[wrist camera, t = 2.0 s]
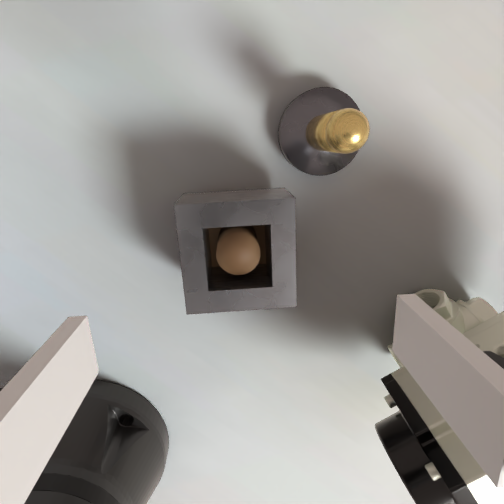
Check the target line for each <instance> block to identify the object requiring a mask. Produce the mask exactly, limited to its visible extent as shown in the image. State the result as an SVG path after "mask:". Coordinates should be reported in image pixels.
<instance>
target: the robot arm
mask: <svg viewBox="0 0 504 504" xmlns="http://www.w3.org/2000/svg"><path fill="white" fill-rule="evenodd" d="M392 351H393V352H394V353H395V355H396V356H397V357H398V358H399V360H400V361H401V362H402V364H403V365H404V366H405V368H406V369H407V370H408V372H409V373H410V374H411V376H412V377H413V378H414V380H415V381H416V382H417V384H418V385H419V386H420V388H421V389H422V390H423V391H424V393H425V394H426V395H427V397H428V398H429V399H430V401H431V402H432V403H433V405H434V406H435V407H436V409H437V410H438V411H439V413H440V414H441V415H442V417H443V418H444V419H445V421H446V422H447V423H448V424H449V426H450V427H451V428H452V430H453V431H454V432H455V434H456V435H457V436H458V438H459V439H460V440H461V442H462V443H463V444H464V446H465V447H466V448H467V450H468V451H469V452H470V454H471V455H472V456H473V457H474V459H475V460H476V461H477V463H478V464H479V465H480V467H481V468H482V469H483V471H484V472H485V473H486V475H487V476H488V477H489V479H490V480H491V481H492V483H493V484H494V485H495V487H496V488H504V358H503V357H501V356H499V355H497V354H495V353H493V352H491V351H482V350H480V349H479V348H478V347H477V346H476V345H474V344H473V343H472V342H471V341H470V340H469V339H467V338H466V337H465V336H464V335H463V334H462V333H460V332H459V331H458V330H457V329H456V328H454V327H453V326H452V325H451V324H450V323H449V322H447V321H446V320H445V319H444V318H443V317H442V316H440V315H439V314H438V313H437V312H436V311H434V310H433V309H432V308H431V307H430V306H429V305H427V304H426V303H425V302H424V301H423V300H421V299H420V298H419V297H418V296H417V295H416V294H402V295H397V302H396V313H395V325H394V336H393V347H392ZM98 373H99V368H98V364H97V359H96V354H95V350H94V345H93V340H92V336H91V331H90V326H89V322H88V317H87V316H75V317H68V318H67V319H66V320H65V321H64V322H63V323H62V325H61V326H60V327H59V328H58V329H57V330H56V331H55V332H54V333H53V334H52V335H51V337H50V338H49V339H48V340H47V341H46V342H45V343H44V344H43V345H42V346H41V348H40V349H39V350H38V351H37V352H36V353H35V354H34V355H33V356H32V357H31V358H30V360H29V361H28V362H27V363H26V364H25V365H24V366H23V367H22V368H21V369H20V370H19V372H18V373H17V374H16V375H15V376H14V377H13V378H12V379H11V380H10V381H9V382H8V384H7V385H6V386H5V387H4V388H0V504H146V503H147V502H148V500H149V498H150V497H151V495H152V493H153V492H154V490H155V488H156V486H157V485H158V483H159V481H160V479H161V477H162V474H163V472H164V468H165V464H166V459H167V454H168V448H169V436H168V431H167V428H166V425H165V422H164V420H163V419H162V417H161V415H160V414H159V412H158V411H157V410H156V409H155V407H154V406H153V405H152V404H151V403H150V402H148V401H147V400H146V399H145V398H143V397H142V396H141V395H139V394H137V393H136V392H134V391H132V390H130V389H128V388H126V387H123V386H120V385H117V384H114V383H110V382H105V381H99V380H95V378H96V376H97V375H98Z"/></svg>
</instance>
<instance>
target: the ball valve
mask: <svg viewBox="0 0 504 504" xmlns="http://www.w3.org/2000/svg"><path fill="white" fill-rule="evenodd" d="M414 294H416V295H417V296H418V297H419V298H420V299H421V300H423V301H424V302H425V303H426V304H427V305H429V306H430V307H431V308H432V309H433V310H434V311H436V312H437V313H438V314H439V315H440V316H442V317H443V318H444V319H445V320H446V321H447V322H449V323H450V324H451V325H452V326H453V327H454V328H456V329H457V330H458V331H459V332H460V333H462V334H463V335H464V336H465V337H466V338H467V339H469V340H470V341H471V342H472V343H473V344H474V345H476V346H477V347H478V348H479V349H480V350H482V351H491V352H493V353H495V354H497V355H499V356H501V357H503V358H504V311H503V312H501V313H499V314H498V313H497V312H496V310H495V309H494V308H493V307H492V306H491V305H490V304H489V303H488V302H486V301H485V300H483V299H482V298H480V297H476V298H472V299H470V300H468V301H466V302H464V301H462V300H457V301H456V302H455V301H453V300H452V299H450V298H448V297H447V295H446V293H445V291H441V290H437V289H424V290H421V291H418V292H416V293H414ZM392 347H393V343H392V344H390V345H388V349H389V351H390V353H391V354H392V356H393V357H394V359H395V361H396V362H397V364H398V365H399V367H400V369H398V370H396V371H394V372H393V373H391V374H392V375H391V374H389V375H387V376H385V377H383V378H382V379H381V380H382V382H383V384H384V385H385V387H386V389H387V390H388V392H389V393H390V394H389V395H387V396H385V397H384V398H385V400H386V402H387V404H388V405H389V407H390V408H392V407H394V406H396V405H397V406H398V408H399V411H398V412H396V413H395V414H393V415H391V416H389V417H387V418H385V419H383V420H382V421H380V422H378V423H376V424H375V429H376V431H377V434H378V436H379V438H380V440H381V442H382V444H383V446H384V448H385V450H386V452H387V454H388V456H389V458H390V460H391V461H392V463H393V465H394V467H395V469H396V471H397V472H398V474H399V476H400V478H401V479H402V481H403V483H404V485H405V486H406V488H407V490H408V491H409V493H410V495H411V496H412V498H413V500H414V501H415V503H416V504H504V488H496V487H495V485H494V484H493V483H492V481H491V480H490V479H489V477H488V476H487V475H486V473H485V472H484V471H483V469H482V468H481V467H480V465H479V464H478V463H477V461H476V460H475V459H474V457H473V456H472V455H471V454H470V452H469V451H468V450H467V448H466V447H465V446H464V444H463V443H462V442H461V440H460V439H459V438H458V436H457V435H456V434H455V432H454V431H453V430H452V428H451V427H450V426H449V424H448V423H447V422H446V421H445V419H444V418H443V417H442V415H441V414H440V413H439V411H438V410H437V409H436V407H435V406H434V405H433V403H432V402H431V401H430V399H429V398H428V397H427V395H426V394H425V393H424V391H423V390H422V389H421V388H420V386H419V385H418V384H417V382H416V381H415V380H414V378H413V377H412V376H411V374H410V373H409V372H408V370H407V369H406V368H405V366H404V365H403V364H402V362H401V361H400V360H399V358H398V357H397V356H396V355H395V353H394V352H393V351H392ZM394 401H395V402H394Z"/></svg>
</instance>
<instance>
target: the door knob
mask: <svg viewBox="0 0 504 504" xmlns="http://www.w3.org/2000/svg"><path fill="white" fill-rule="evenodd" d="M369 130H370V127H369V122H368V120H367V118H366V116H365V115H364V114H363V113H362V112H360V110H359V108H358V106H357V104H356V103H355V102H354V101H353V99H352V98H351V97H350V96H348V95H347V94H346V93H344V92H342V91H340V90H338V89H335V88H330V87H320V88H315V89H311V90H309V91H306V92H305V93H303V94H301V95H300V96H298V97H297V98H296V99H294V100H293V101H292V102H291V103H290V104H289V105H288V107H287V108H286V110H285V111H284V113H283V115H282V117H281V120H280V124H279V129H278V138H279V144H280V148H281V151H282V153H283V155H284V156H285V158H286V159H287V161H288V162H289V163H290V164H291V165H293V166H294V167H295V168H297V169H298V170H301V171H303V172H305V173H308V174H311V175H328V174H332V173H335V172H337V171H339V170H341V169H342V168H344V167H345V166H346V165H347V164H349V163H350V162H351V160H352V159H353V158H354V157H355V155H356V154H357V152H358V150H359V149H360V148H361V147H362V146H363V145H364V144H365V142H366V141H367V139H368V136H369Z"/></svg>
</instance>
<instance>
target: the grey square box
mask: <svg viewBox="0 0 504 504" xmlns="http://www.w3.org/2000/svg"><path fill="white" fill-rule="evenodd" d="M174 211H175V219H176V228H177V236H178V245H179V253H180V261H181V270H182V278H183V287H184V295H185V304H186V312H187V314H201V313H215V312H230V311H244V310H258V309H272V308H286V307H297V302H296V212H295V197H294V196H293V195H292V194H291V193H290V192H289V191H287V190H286V189H285V188H272V189H254V190H237V191H219V192H202V193H185V194H183V195H182V196H181V197H180V198H179V199H178V201H177V202H176V203H175V204H174ZM252 225H265V248H266V263H265V264H257V266H256V267H255V268H254V269H253V270H252V271H250V272H249V273H246V274H243V275H234V274H230V273H228V272H226V271H225V270H223V269H222V268H221V267H212V262H211V251H210V240H209V229H208V228H219V227H236V226H252Z"/></svg>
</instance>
